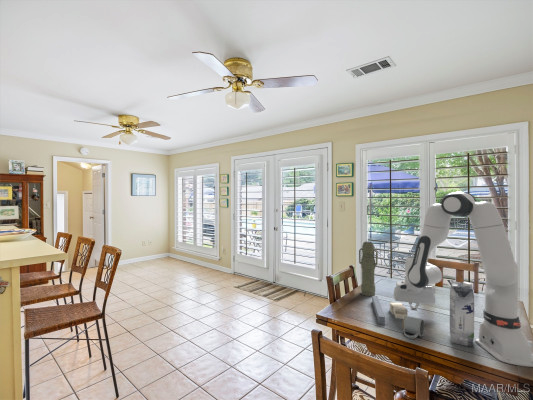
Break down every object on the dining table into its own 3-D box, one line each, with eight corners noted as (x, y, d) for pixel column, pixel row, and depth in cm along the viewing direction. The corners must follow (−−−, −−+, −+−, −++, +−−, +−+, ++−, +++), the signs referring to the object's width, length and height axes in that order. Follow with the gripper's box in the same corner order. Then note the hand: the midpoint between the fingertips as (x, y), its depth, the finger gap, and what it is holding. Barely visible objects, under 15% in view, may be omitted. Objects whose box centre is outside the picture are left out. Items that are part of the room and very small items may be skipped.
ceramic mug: (406, 327, 137) (406, 312, 137) (424, 333, 132) (424, 317, 132) (399, 336, 130) (399, 320, 129) (418, 342, 124) (418, 325, 124)
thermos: (377, 297, 177) (377, 243, 177) (358, 294, 183) (358, 242, 182) (378, 293, 185) (378, 241, 185) (359, 290, 191) (359, 240, 190)
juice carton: (449, 343, 123) (449, 283, 122) (449, 333, 132) (449, 277, 131) (474, 349, 118) (474, 286, 117) (472, 338, 127) (473, 280, 126)
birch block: (407, 319, 147) (407, 309, 147) (395, 318, 148) (395, 309, 148) (400, 311, 157) (400, 302, 157) (389, 310, 158) (389, 302, 158)
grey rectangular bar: (385, 324, 140) (385, 317, 140) (378, 324, 141) (378, 316, 141) (377, 302, 169) (377, 296, 169) (372, 302, 170) (372, 295, 170)
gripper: (433, 284, 151) (433, 309, 151) (392, 281, 156) (392, 306, 156) (437, 288, 145) (437, 314, 145) (395, 285, 150) (395, 310, 150)
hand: (413, 310), depth 151 cm, fingers closed
